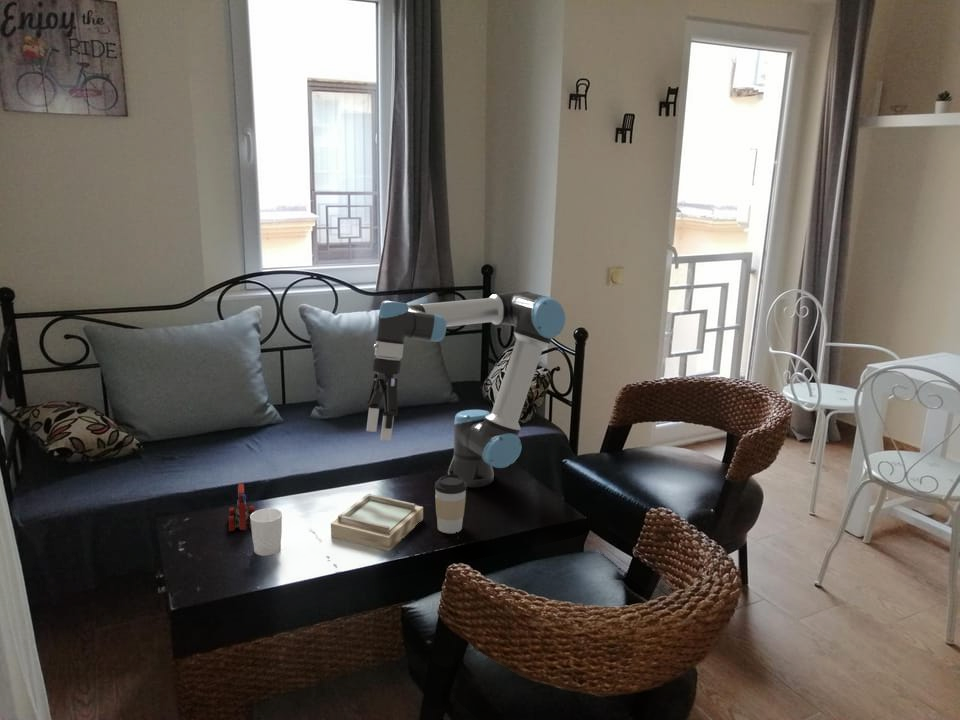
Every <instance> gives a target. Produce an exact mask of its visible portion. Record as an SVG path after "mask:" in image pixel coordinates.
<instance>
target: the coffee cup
mask: <svg viewBox="0 0 960 720" xmlns="http://www.w3.org/2000/svg"><path fill="white" fill-rule="evenodd" d="M467 489H468V487H467V484H466V482H465V481H463V479H462V478H460V477H459V476H458V475H455V474H449V475H448V474H447V475H444V476H441V477H439V478H438V479H437V480H436V481H435V483H434V490H435V513H436V520H437V521H436V523H437V530H438V531H439V532H441V533H445V534H456V532H457V533H459V532H461V530H462V529H463V521H464V520H463V519H464V516H465V507H466V498H467V493H466V492H467Z"/></svg>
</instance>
